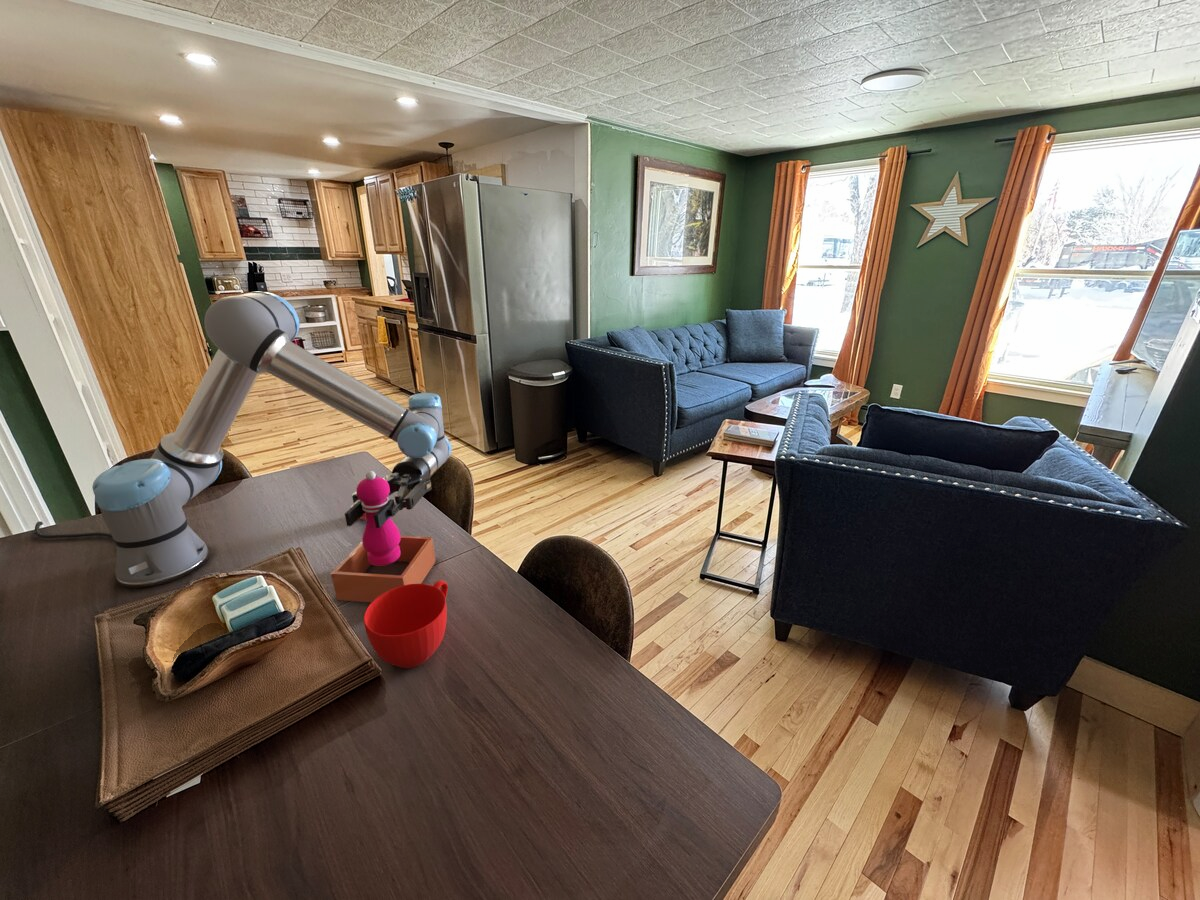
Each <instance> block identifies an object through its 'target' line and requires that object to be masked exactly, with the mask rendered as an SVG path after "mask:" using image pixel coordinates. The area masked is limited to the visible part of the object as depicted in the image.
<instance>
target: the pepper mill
mask: <svg viewBox="0 0 1200 900" xmlns="http://www.w3.org/2000/svg"><path fill="white" fill-rule="evenodd" d="M376 475H377V474H376V472H375V471H373V470H368V471H367V472H366V473H365V478H363V479H361V480H360V482H359V483H358V484H357V486H356V490H355V492H357V497H358V498H359V499H360V500H361V501H362V504H361V505H362V509H363V511H365V512H366V520H365V522H366V523H365V528H364V531H363V533H362V540H361V542H363V547H364V549H365V550H367V551H368V553H367V555H368V560H369V562H370V563H371V565H373V566H377V567H381V566H388V565H391V564H393V563H395V562H397V561H396V560H397V559H398V558H399V557H400V555H401V552H400V547H399V545H398V544H399V543H400V540H401V536H402V535H401V532H400V530H399V528H398V526H397V525H396V524H395V523H394V521H393V520H392V518H391V517H390V518H389V519H388V520H387V521H386V522H385V523H384V524H383V525H382V526H381V527H380V528H376V525H375V519H374V515H375V514H376V513H377V512H378V511H379V510H380V509H381V508H382V507H383V506H384V505H385V504H386V503H387V502H388V501H389V500H390V499H389V496H390V495H389V493H390V487H389V484H388V482H387V481H386V480H385V479H383V478H384V477H380V476H377V477H376Z"/></svg>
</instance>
